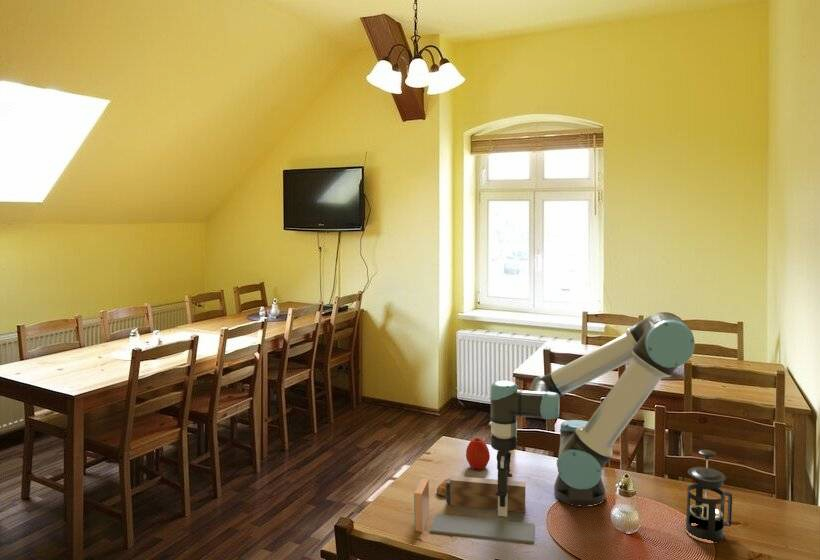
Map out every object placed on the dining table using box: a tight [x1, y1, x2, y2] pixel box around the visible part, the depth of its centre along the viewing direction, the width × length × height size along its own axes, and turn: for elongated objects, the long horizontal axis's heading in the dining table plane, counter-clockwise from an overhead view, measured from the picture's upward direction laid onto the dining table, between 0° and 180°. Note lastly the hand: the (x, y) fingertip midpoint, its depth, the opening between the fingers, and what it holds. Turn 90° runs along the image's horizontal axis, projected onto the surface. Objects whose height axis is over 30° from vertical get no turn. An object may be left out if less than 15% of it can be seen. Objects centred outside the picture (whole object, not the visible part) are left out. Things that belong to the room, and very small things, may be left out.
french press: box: [685, 449, 733, 543], centre depth 155 cm, size 12×9×23 cm
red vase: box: [465, 437, 491, 471], centre depth 200 cm, size 8×8×11 cm
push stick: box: [445, 475, 526, 513], centre depth 174 cm, size 23×3×8 cm, turn 76°
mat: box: [429, 513, 536, 544], centre depth 161 cm, size 28×9×1 cm, turn 76°
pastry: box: [436, 477, 451, 497], centre depth 184 cm, size 9×7×4 cm
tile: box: [413, 478, 430, 533], centre depth 165 cm, size 2×9×11 cm, turn 166°
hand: (504, 506), depth 173 cm, fingers open, 9 cm apart
